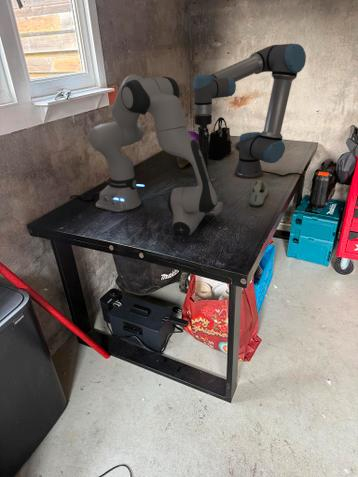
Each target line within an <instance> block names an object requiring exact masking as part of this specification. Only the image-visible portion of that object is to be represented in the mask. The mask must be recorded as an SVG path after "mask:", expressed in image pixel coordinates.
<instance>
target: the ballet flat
mask: <svg viewBox="0 0 358 477" xmlns="http://www.w3.org/2000/svg"><path fill="white" fill-rule="evenodd" d="M268 194H269V189H268V186H267V183H266V182H265V181H264V180H262V179H257V180H255V181H254V182H253V184H252V187H251V190H250V196H249V204H250V205H251V206H252V207H260V206H261V205H263V203H264V201H265V198H266V196H267V195H268Z"/></svg>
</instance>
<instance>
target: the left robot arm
mask: <svg viewBox="0 0 358 477" xmlns="http://www.w3.org/2000/svg"><path fill="white" fill-rule="evenodd" d="M118 88H119V89H118V91H117V93H116V96H115V99H114V101H113V104H112V107H111V115H112V118H113V120H114V121H111V122H105V123H100V124H98V125H96V126H93V127H92V128H90V129H89V132H88V142H89V144H90V146H91V147H92V149H94V150H95V151H97V152H99V153H100V154H101V155H102V156H103V157H104V159H105V160H106V162H107V166H108V170H109V174H110V177H108V178H107V179H106V183H108V185H106V186H105V187H104V189H101V190H100V191H98V192H96V193H94V194H93V195H92V198H89V199H88V198H84V196H82V195H78V194H73V196H72V195H70V196H69V199H72V198H74V197H77V198H81V200H82V201H84V202H91V201H93V200H94V199H95V197H96V196H97V199H98V200H97V201H96V203H95V208H99V209H103V210H107V211H111V212H115V213H121V212H124V211H129V210H134V209H136V208H138V207H140V206H141V204H142V200H141V198H140V196H139V193H138V187H145V184H139V183H138V184H137V178H136V174H135V168H134V160H133V159H132V158H131V157H130V156H129V155H127V154H125V153H123V152H122V150H121V148H123V147H126V146H130V145H133V144H136V143H138V142H140V141H141V140H142V139H143V136H144V128H143V126H142V123H141V122H140V121H139V118H140V116H141V115H142V116H145V115H146V114H147V113H148V114H150V115H151V116H152V117H153V118H152V119H153V122H154V128H155V134H156V139H157V143H158V145H159V148H161V150H162V151H163V152H165V153H167V154H169V155H171V156H174V157H176V156H178V157H181V158H184V159H186V160H188V161H189V162H190V163H189V164H190V165H191V166H192V169H193V172H194V175H195V178H196V182H197V181H198V185H199V186H197V185H194V186H179V187H174V188H172V189H171V191H170V192H169V193H168V196H167V201H166V202H167V208H168V210H169V213H170V214H171V215H172V218H173V219H172V224H171V227H172V231H173V232H174V233H175V234H176V235H178V236H179V237H188V236H190V235H192V234H193V233H194V232H196V230H197V228H198V227H199V224H200V223H201V222H202V221H203V219H204V217H205V216H212V217H213V216H219V215H220V214H221V213H222V211H223V210H224V203H223V201H219V200H218V195H217V191H216V188H215V187H214V183H213V181H212V179H211V176H210V172H209V170H208V166H206V163H205V160H204V157H203V154H202V151H201V148H200V146H199V144H198V142H197V141H194V140H193V139H192V138H191V136H190V135H189V133H188V131H189V129H188V126H187V121H186V116H185V112H184V108H183V106H182V102H181V100H180V88H179V84H178V82H177V81H176V80H175V79H174V78H173V77H169V76H149V77H143V76H140V75H138V74H129V75H128V76H126V77H125V78H124V79H123V81H122V83H121V85H120V87H118Z"/></svg>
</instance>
